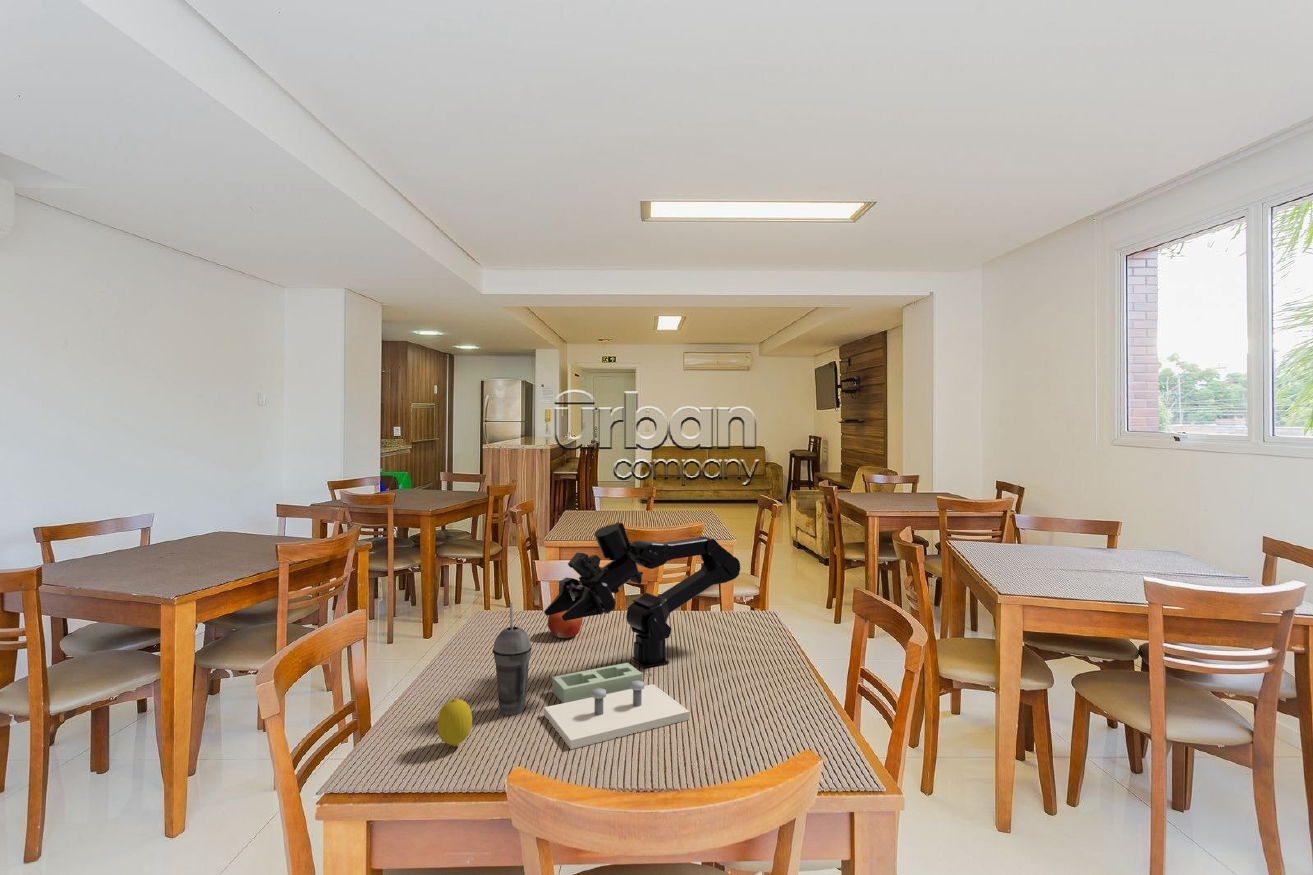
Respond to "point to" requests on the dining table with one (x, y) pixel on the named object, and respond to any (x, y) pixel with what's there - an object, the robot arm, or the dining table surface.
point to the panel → (594, 682)
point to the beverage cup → (512, 667)
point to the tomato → (564, 625)
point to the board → (614, 714)
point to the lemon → (454, 722)
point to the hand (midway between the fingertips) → (553, 616)
